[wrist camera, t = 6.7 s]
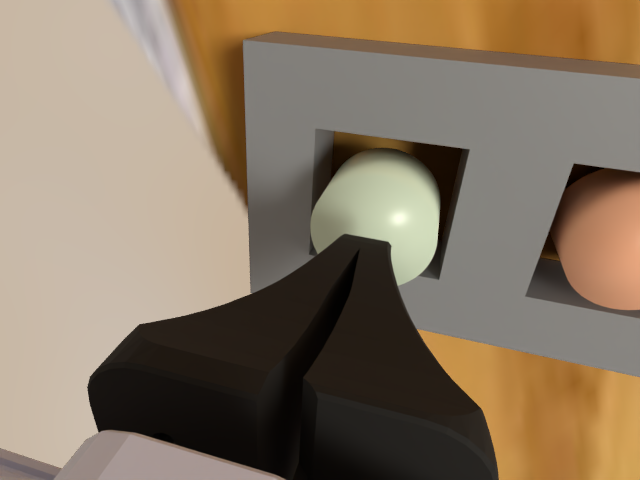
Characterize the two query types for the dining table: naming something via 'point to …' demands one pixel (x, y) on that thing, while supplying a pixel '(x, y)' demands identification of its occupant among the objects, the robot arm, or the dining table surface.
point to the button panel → (471, 180)
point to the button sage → (382, 208)
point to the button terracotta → (601, 237)
